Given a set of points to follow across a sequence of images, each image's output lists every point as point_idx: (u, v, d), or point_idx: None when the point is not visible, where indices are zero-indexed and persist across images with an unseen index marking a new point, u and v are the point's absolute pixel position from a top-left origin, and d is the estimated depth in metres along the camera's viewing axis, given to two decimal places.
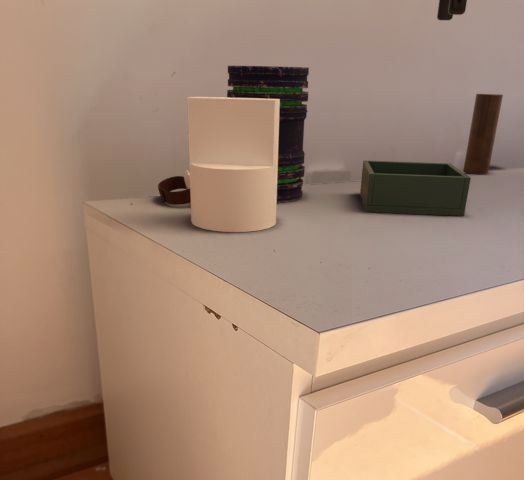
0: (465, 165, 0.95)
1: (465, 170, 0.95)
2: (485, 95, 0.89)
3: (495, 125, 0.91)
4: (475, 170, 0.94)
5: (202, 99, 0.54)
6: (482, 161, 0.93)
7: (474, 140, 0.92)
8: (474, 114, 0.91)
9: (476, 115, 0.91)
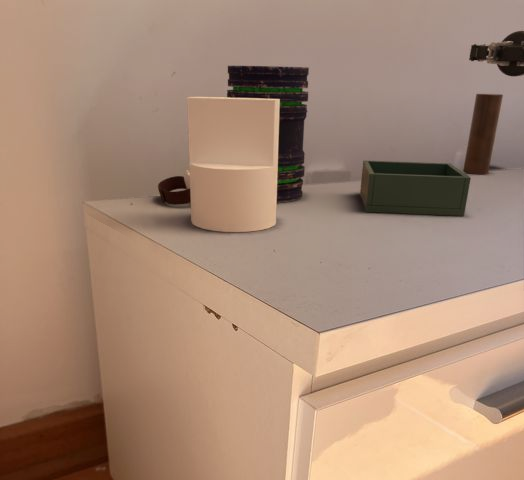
0: (465, 165, 0.95)
1: (465, 170, 0.95)
2: (485, 95, 0.89)
3: (495, 125, 0.91)
4: (475, 170, 0.94)
5: (202, 99, 0.54)
6: (482, 161, 0.93)
7: (474, 140, 0.92)
8: (474, 114, 0.91)
9: (476, 115, 0.91)
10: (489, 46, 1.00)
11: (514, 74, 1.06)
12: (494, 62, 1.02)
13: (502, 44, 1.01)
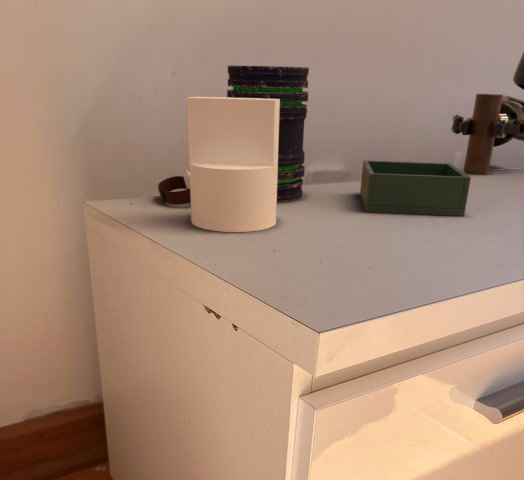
0: (465, 165, 0.95)
1: (465, 170, 0.95)
2: (485, 95, 0.89)
3: None
4: (475, 170, 0.93)
5: (202, 99, 0.54)
6: (482, 161, 0.93)
7: (475, 140, 0.92)
8: (474, 114, 0.91)
9: (476, 115, 0.91)
10: None
11: None
12: None
13: None
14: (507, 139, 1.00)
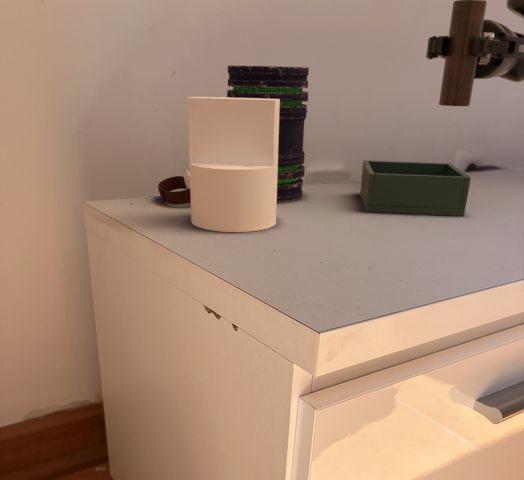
0: (441, 96, 0.76)
1: (440, 102, 0.76)
2: (464, 1, 0.70)
3: None
4: (452, 100, 0.75)
5: (202, 99, 0.54)
6: (461, 88, 0.74)
7: (452, 61, 0.73)
8: (451, 28, 0.72)
9: (453, 28, 0.72)
10: None
11: (476, 76, 0.82)
12: None
13: None
14: (494, 68, 0.81)
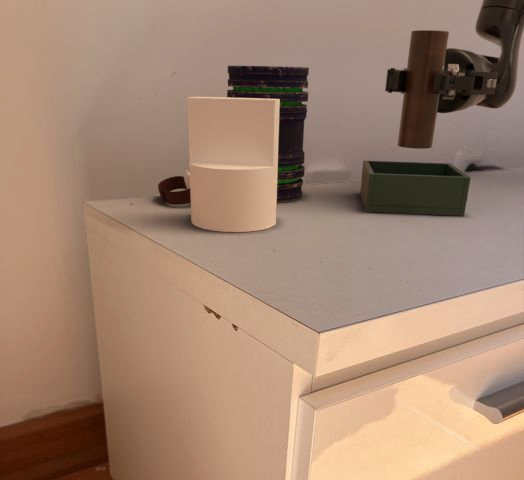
0: (399, 136, 0.67)
1: (399, 143, 0.67)
2: (422, 32, 0.61)
3: None
4: (412, 142, 0.66)
5: (202, 99, 0.54)
6: (421, 129, 0.65)
7: (410, 99, 0.64)
8: (409, 61, 0.63)
9: (411, 62, 0.63)
10: None
11: (443, 110, 0.74)
12: None
13: None
14: (462, 102, 0.72)
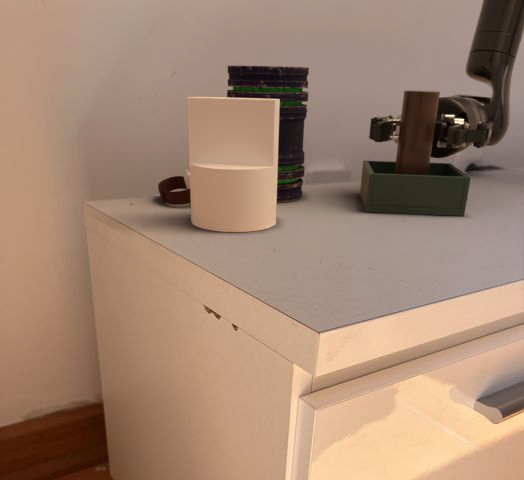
0: None
1: None
2: (414, 92, 0.64)
3: (430, 134, 0.66)
4: None
5: (202, 99, 0.54)
6: None
7: (403, 154, 0.67)
8: (402, 119, 0.66)
9: (404, 120, 0.66)
10: (394, 121, 0.70)
11: (437, 155, 0.76)
12: None
13: None
14: (456, 148, 0.74)
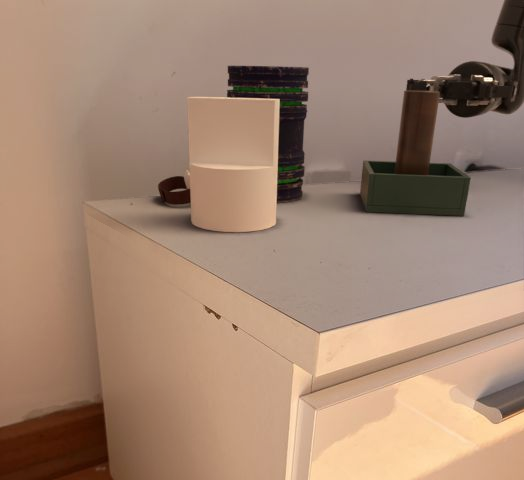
0: None
1: None
2: (414, 92, 0.64)
3: (430, 134, 0.66)
4: None
5: (202, 99, 0.54)
6: None
7: (403, 154, 0.67)
8: (402, 119, 0.66)
9: (404, 120, 0.66)
10: (428, 81, 0.78)
11: (465, 115, 0.84)
12: None
13: (446, 78, 0.79)
14: (483, 108, 0.82)
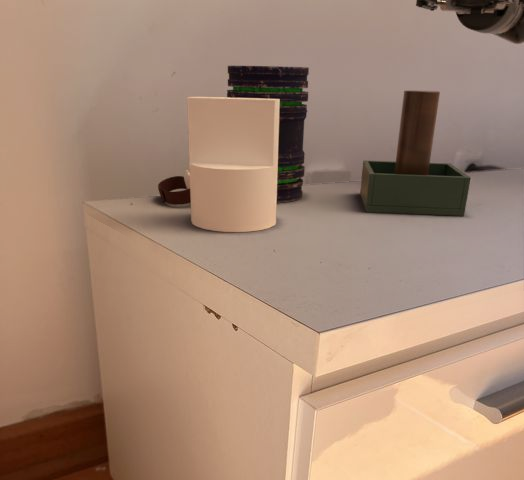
0: None
1: None
2: (414, 92, 0.64)
3: (430, 134, 0.66)
4: None
5: (202, 99, 0.54)
6: None
7: (403, 154, 0.67)
8: (402, 119, 0.66)
9: (404, 120, 0.66)
10: None
11: (479, 27, 0.79)
12: (449, 8, 0.75)
13: None
14: (498, 18, 0.78)
